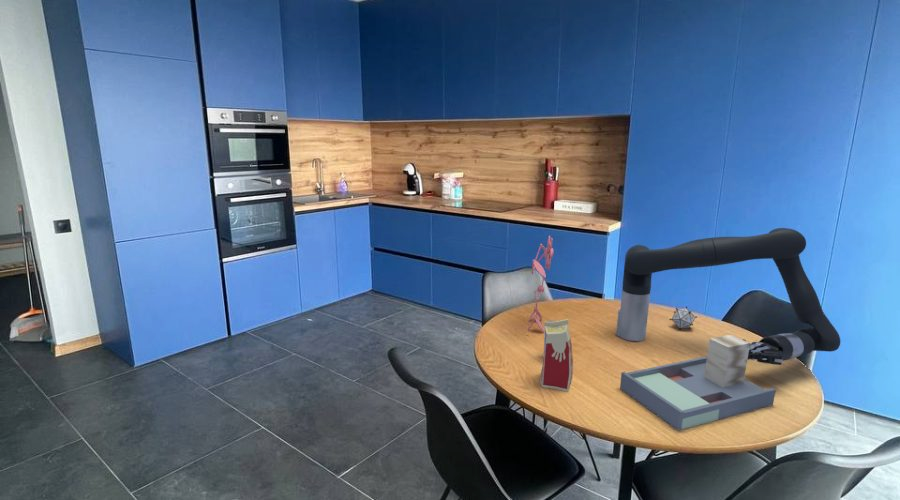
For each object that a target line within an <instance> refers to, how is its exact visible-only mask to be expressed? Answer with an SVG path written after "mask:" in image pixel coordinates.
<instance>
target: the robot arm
mask: <svg viewBox="0 0 900 500" xmlns="http://www.w3.org/2000/svg"><path fill="white" fill-rule="evenodd" d="M806 246H807V240H806V238H805V236H804V235H803V234H802V233H801V232H799V231H798V230H796V229H793V228H786V227H778V228H774V229H772V230H770V231H769V232H767V233H762V234H757V235H752V236H716V237H707V238H700V239H694V240H690V241H687V242H683V243H681V244H678V245H675V246H672V247H668V248H667V247H666V248H660V249H658V248H657V249H656V248H655V249H650V248H649V247H648V246H646V245H643V244H636V245H633V246H631V247H630V248H629V249H627V251H626V253H625V257H624V264H623V265H624V267H623V275H622V286H621V287H622V290H621V299H620V309H619V310H617V311H618V312H617V319H616V322H617V323H616V330H615V331H616V333H615V335H616V336H617V337H620V338H621V339H622V340H626V341H630V342H642V341H644V340H645V339H646V335H647V328H648V327H647V326H648V325H647V324H648V318H649V317H648V316H649V307H650V298H651V297H650V296H651V290H652V289H651V288H652V277H653V276H652V275H653V273H654V274H655V273H659V272H663V271H664V272H665V271H669V270H670V271H671V270H683V269H694V268H706V267H714V266H715V267H716V266H724V265H729V264H736V263H742V262H746V261H752V260H763V259H765V260H767V259H772V260H773V262H774V264H775V266H776V267H777V269H778V272H779V275H780V276H781V279H782V282H783V283H784V287H785V289H786V293H787V295H788V299H789V301H790V305H791V306H792V307H791V308H792V311H793V312H794V315H795V318H796V320H797V321H798V322H800V323H803V324H807V325H810V326H811V327H805V328H799V329H797V330H796V331H794V332H788V333H778V334H774V335H773V334H772V335H769V336H764V337H762V338H761V339H760V340H759V341H753V342H749V343H750V347H749V353H748V359H747V361H748V360H751V361H756V362H758V363H763V364H769V365H778V366H781V365H782V364H783V362H784V361H788V360H792V359H796V358H797V357H801V356H802V357H803V356H806V355H808V354H810V353H813V352H814V351H815V352H829V353H830V352H835V351H837V350H839V348H840V346H841V336H840V335H839V333H838V330H837V329H836V328H835V327H834V325H833V324H832V322H831V321H830V319H829V318H828V316H827V315H826V314H825V313H824V311H823V308H822V305H821V303H820V299H819V297H818V294H817V292H816V290H815V288H814V286H813V284H812V283H811V281H810V278H808V276H807V274H806V272H805V269H804V267H803V264H802V262H801V258H800V255H801V254H802V253H803V252H804V250H805V249H806ZM742 340H744V341H747V340H746V339H742Z"/></svg>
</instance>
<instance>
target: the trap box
mask: <svg viewBox="0 0 900 500" xmlns="http://www.w3.org/2000/svg"><path fill="white" fill-rule="evenodd" d="M706 360H707V355H706V356H702V357H701V356H700V357H696V358H692V359H687V360H683V361H677V362H672V363H668V364H663V365H658V366H653V367H648V368H644V369H643V368H642V369H639V370H634V371H629V372H625V371H622V372H621V374H620V384H619V389H620V390H622V391H623V392H625V393H626V394H627V395H629V396H630V397H631V398H632V399H634V400H636V401H637V402H638V403H639V404H641V405H643V406H644V408H646V409H647V410H649V411H650V412H651V413H654V414H655V415H656V416H658V417H659V418H660V419H662V420H663V421H664V422H666V423H667V424H668V425H670V426H672V427H673V428H674V429H676V430H677V431H681V430H685V429H690V428H691V427H692V428H693V427H696V426H699V425H703V424H708V423H711V422H714V421H715V422H716V421H718V420H722V419H726V418H729V417H732V416H736V415H741V414H744V413H748V412H752V411H754V410H758V409H763V408H766V407H770V406H774V401H775V396H776V392H777V389H775V388H773V387H771V388H766V389H764V388H763V387H761V386H759V385H756V384H754V383H753V382H751V381H749V380H747V379H745V378H744V383H740V384H735V385H731V386H727V387H723V388H722V387H720V386H719V385H717V384H715V383H713V382H712V381H710V380H708V379H706V378H704V374H705V367H706Z"/></svg>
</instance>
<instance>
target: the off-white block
mask: <svg viewBox="0 0 900 500" xmlns="http://www.w3.org/2000/svg"><path fill="white" fill-rule="evenodd" d="M744 340H745V339H744ZM744 340H742V339H741V338H739V337H737V336H735V335H732V334H727V335H721V336H716V337H711V338H709V341H708V347H707V354H706V356H707V360H706V367H705V374H704V378H706V379H708V380H710V381H712V382H713V383H715V384H717V385H719V386H720V387H722V388H723V387H727V386H731V385H735V384H740V383H744V379H745V377H746V370H747V364H748V360H747V359H748V353H749V347H750V343H751V342H749V341H747V340H746V341H744Z"/></svg>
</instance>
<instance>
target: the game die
mask: <svg viewBox="0 0 900 500" xmlns="http://www.w3.org/2000/svg"><path fill="white" fill-rule="evenodd" d="M673 313H674V314H673V316H672V318H669V319H668V320H669V321H672V322H673V323H674V324H675V326H677V327H678V328H679V329H678V330H679V331H681V330H682V329H685V328H687V329H688V328H689V329H692V327H691V326H694V324H693V323H694V321H695V319H697V318H698V316H695V315H694V314H693V313H692V311H691V310H689V309H688V306H685V308H684V307H683V308H679V309H678V307H675V311H673Z"/></svg>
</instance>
